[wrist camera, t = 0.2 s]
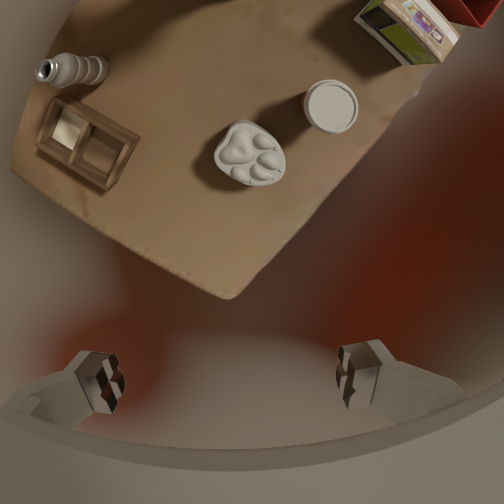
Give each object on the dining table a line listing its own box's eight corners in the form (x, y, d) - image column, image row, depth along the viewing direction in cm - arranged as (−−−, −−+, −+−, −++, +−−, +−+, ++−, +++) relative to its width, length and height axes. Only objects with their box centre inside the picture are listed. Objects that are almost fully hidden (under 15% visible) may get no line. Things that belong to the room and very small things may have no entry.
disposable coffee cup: (289, 122, 52) (301, 129, 42) (295, 77, 47) (309, 74, 37) (334, 129, 53) (355, 139, 43) (341, 86, 48) (364, 87, 38)
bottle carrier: (66, 94, 44) (53, 96, 40) (141, 136, 52) (131, 141, 47) (48, 140, 49) (34, 145, 45) (117, 182, 57) (107, 191, 52)
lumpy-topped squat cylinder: (239, 112, 51) (238, 116, 43) (292, 148, 55) (300, 157, 48) (210, 154, 55) (206, 165, 48) (263, 186, 59) (266, 202, 52)
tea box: (422, 40, 40) (463, 37, 28) (402, 66, 44) (442, 65, 32) (373, -6, 35) (407, -23, 23) (350, 19, 39) (382, 3, 27)
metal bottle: (106, 50, 41) (53, 42, 24) (116, 76, 44) (63, 75, 27) (82, 66, 42) (25, 66, 25) (91, 90, 45) (35, 98, 28)
